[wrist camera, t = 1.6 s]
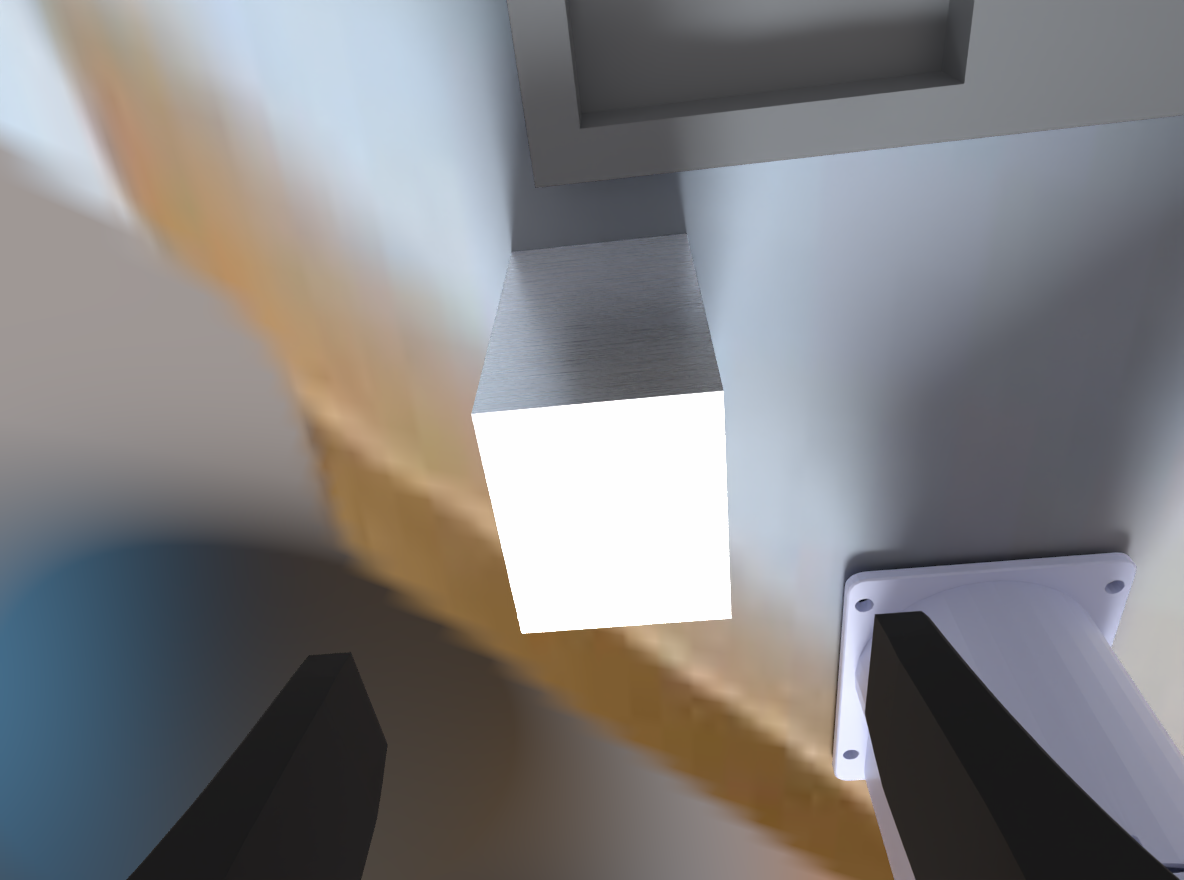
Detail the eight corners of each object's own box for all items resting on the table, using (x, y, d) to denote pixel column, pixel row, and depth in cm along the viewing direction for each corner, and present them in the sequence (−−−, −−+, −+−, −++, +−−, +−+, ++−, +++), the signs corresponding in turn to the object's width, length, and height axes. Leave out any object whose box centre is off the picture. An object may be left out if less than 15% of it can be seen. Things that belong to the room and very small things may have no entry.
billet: (696, 419, 22) (730, 617, 16) (543, 433, 22) (521, 633, 16) (686, 233, 19) (723, 390, 13) (511, 251, 19) (471, 414, 13)
